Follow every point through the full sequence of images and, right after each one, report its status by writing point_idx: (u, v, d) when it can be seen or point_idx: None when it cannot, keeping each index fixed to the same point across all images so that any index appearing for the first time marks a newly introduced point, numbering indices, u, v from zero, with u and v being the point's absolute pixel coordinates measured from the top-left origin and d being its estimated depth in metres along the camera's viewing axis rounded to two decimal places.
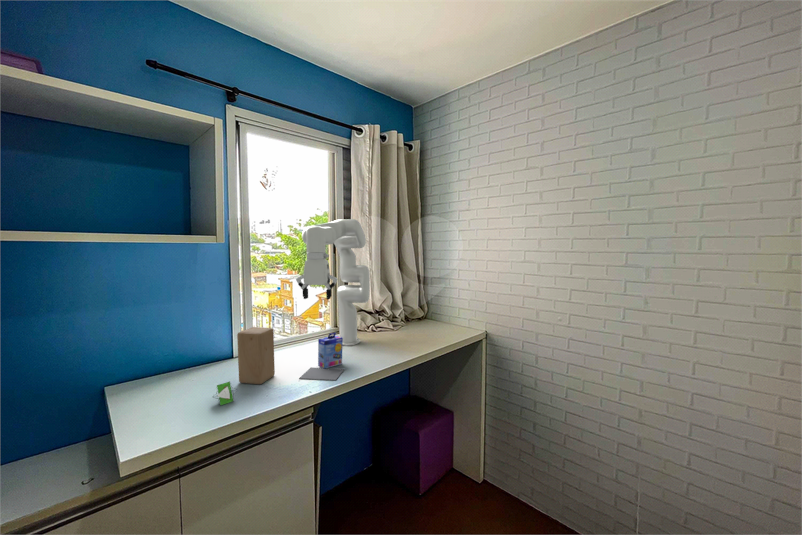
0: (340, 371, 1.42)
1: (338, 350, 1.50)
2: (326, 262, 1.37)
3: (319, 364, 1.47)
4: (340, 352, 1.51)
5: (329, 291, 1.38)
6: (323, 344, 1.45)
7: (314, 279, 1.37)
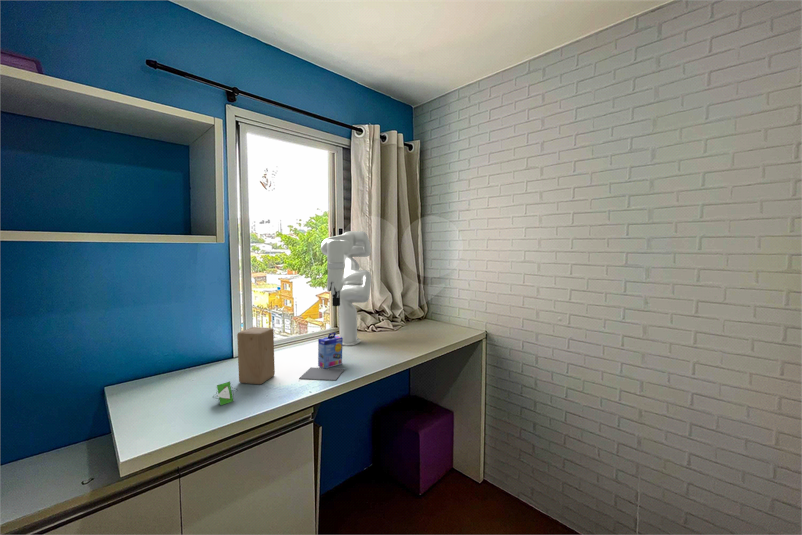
0: (340, 371, 1.42)
1: (338, 350, 1.50)
2: None
3: (319, 364, 1.47)
4: (340, 352, 1.51)
5: None
6: (323, 344, 1.45)
7: (340, 285, 1.57)
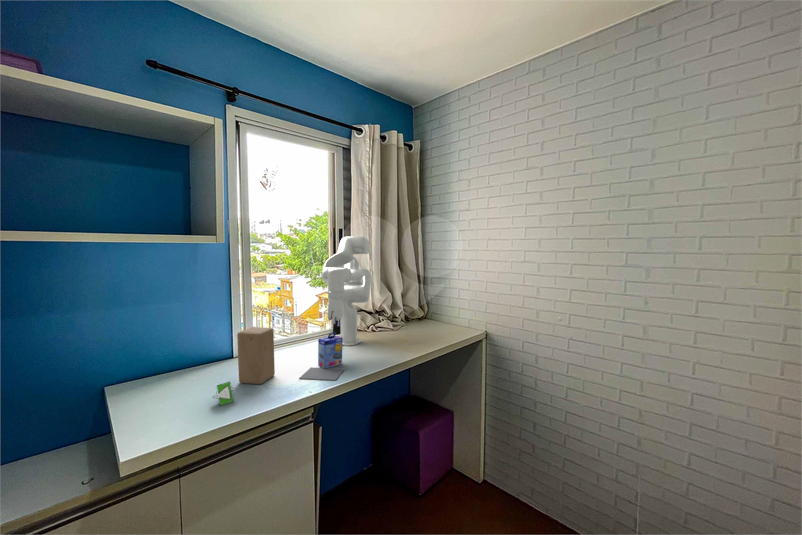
0: (340, 371, 1.42)
1: (338, 350, 1.50)
2: None
3: (319, 364, 1.47)
4: (340, 352, 1.51)
5: None
6: (323, 344, 1.45)
7: (341, 314, 1.58)
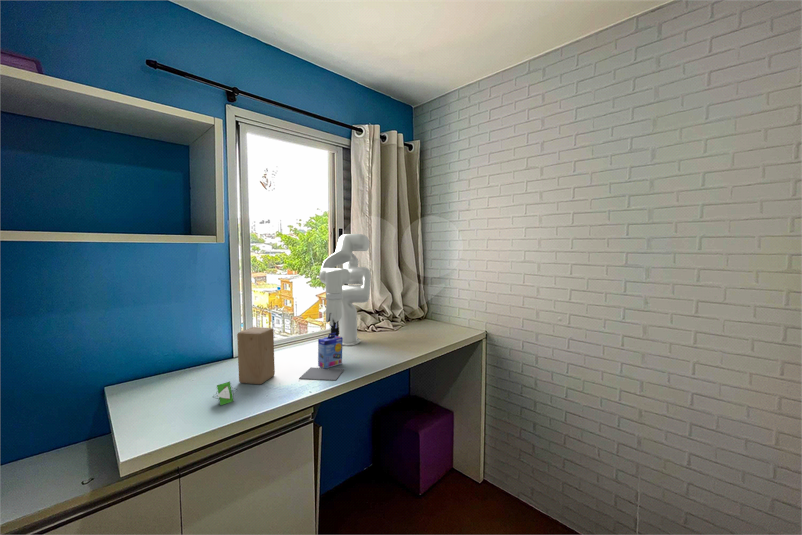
0: (340, 371, 1.42)
1: (338, 350, 1.50)
2: None
3: (319, 364, 1.47)
4: (340, 352, 1.51)
5: None
6: (323, 344, 1.45)
7: (339, 315, 1.55)
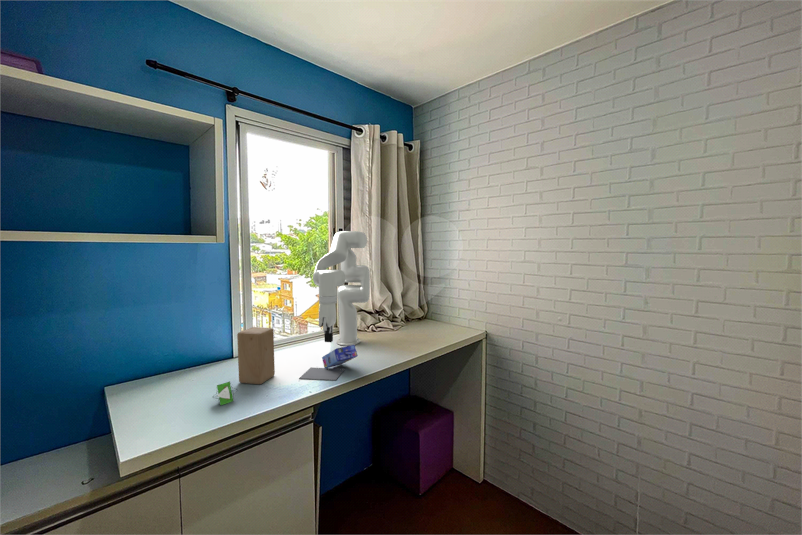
0: (340, 371, 1.42)
1: (346, 361, 1.46)
2: None
3: (323, 359, 1.46)
4: None
5: None
6: (337, 359, 1.39)
7: (333, 320, 1.47)
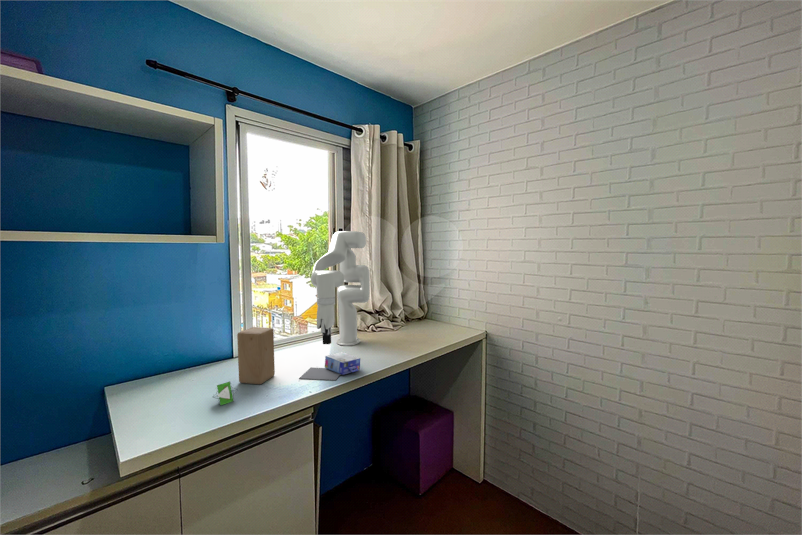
0: None
1: None
2: None
3: (326, 359, 1.44)
4: None
5: None
6: (339, 371, 1.38)
7: (331, 321, 1.45)
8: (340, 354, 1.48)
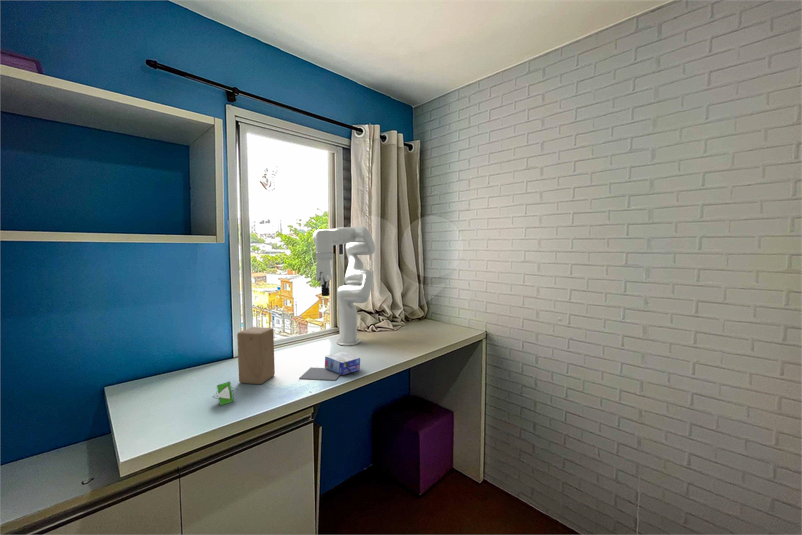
0: None
1: None
2: None
3: (326, 359, 1.44)
4: None
5: None
6: (339, 371, 1.38)
7: (329, 275, 1.57)
8: (340, 354, 1.48)
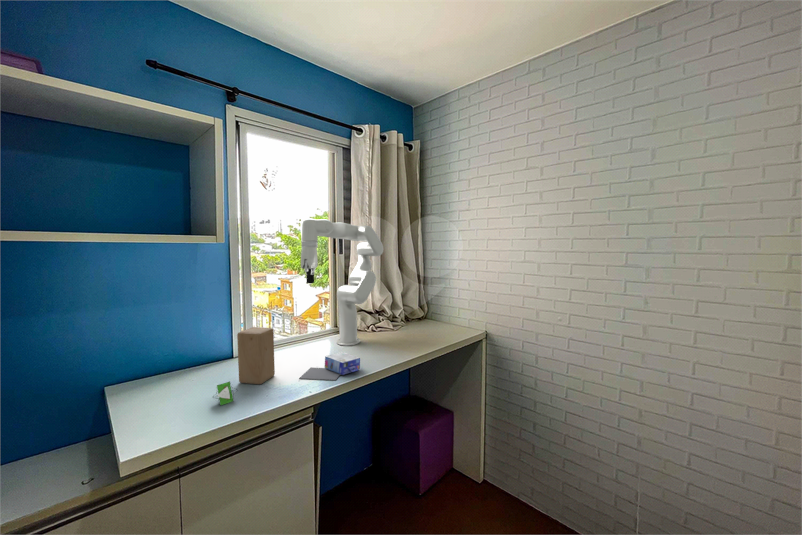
0: None
1: None
2: None
3: (326, 359, 1.44)
4: None
5: None
6: (339, 371, 1.38)
7: (314, 263, 1.63)
8: (340, 354, 1.48)
